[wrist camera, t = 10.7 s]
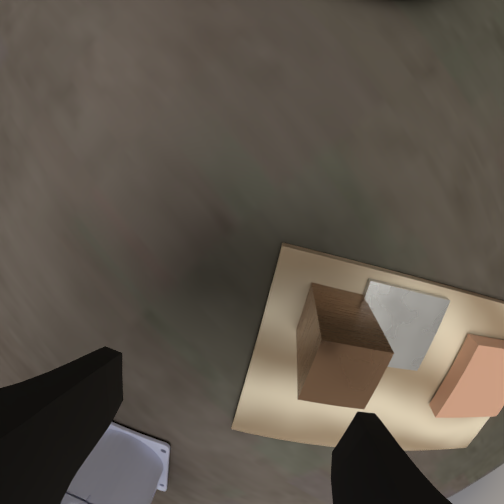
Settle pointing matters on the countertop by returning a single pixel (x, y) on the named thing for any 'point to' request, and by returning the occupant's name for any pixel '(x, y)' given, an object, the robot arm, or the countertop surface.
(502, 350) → the tile
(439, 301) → the bookend
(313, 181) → the countertop surface
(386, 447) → the robot arm
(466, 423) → the board
